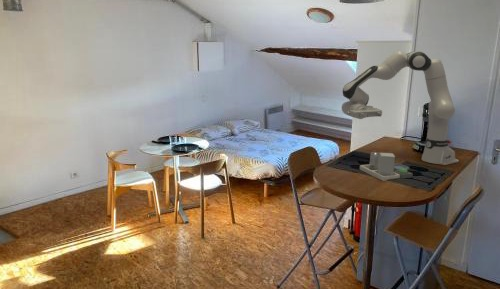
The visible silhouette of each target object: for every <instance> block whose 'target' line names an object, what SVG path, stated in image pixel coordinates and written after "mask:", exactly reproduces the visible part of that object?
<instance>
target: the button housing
mask: <svg viewBox="0 0 500 289" xmlns="http://www.w3.org/2000/svg"><path fill="white" fill-rule="evenodd" d="M394 172H395V173H397V174H399V175H400V178H399V179H403V180H404V179H412V178H413V175H414V174H413V172H410V171H408V170H407V173H406V174H402V173H400V172H399V170H394Z"/></svg>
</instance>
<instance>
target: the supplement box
mask: <svg viewBox="0 0 500 289" xmlns="http://www.w3.org/2000/svg"><path fill="white" fill-rule="evenodd" d="M379 153H380V154H379V163H378V174H380V175H382V176H390V175H393V172H394V171H395V169H394V164H396V163H395V160H396V156H395V154H394V153H392V152H379Z"/></svg>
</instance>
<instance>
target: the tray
mask: <svg viewBox="0 0 500 289" xmlns="http://www.w3.org/2000/svg"><path fill="white" fill-rule="evenodd" d="M400 168H406V169H407V171H408V170H410V166H407V165H404V164H401V163H394V171H396V170H400Z"/></svg>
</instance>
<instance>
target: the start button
mask: <svg viewBox="0 0 500 289" xmlns="http://www.w3.org/2000/svg"><path fill="white" fill-rule="evenodd" d="M407 171H408V170H407V169H406V168H400V170H399V172H400V173H402V174H406V173H407Z"/></svg>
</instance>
